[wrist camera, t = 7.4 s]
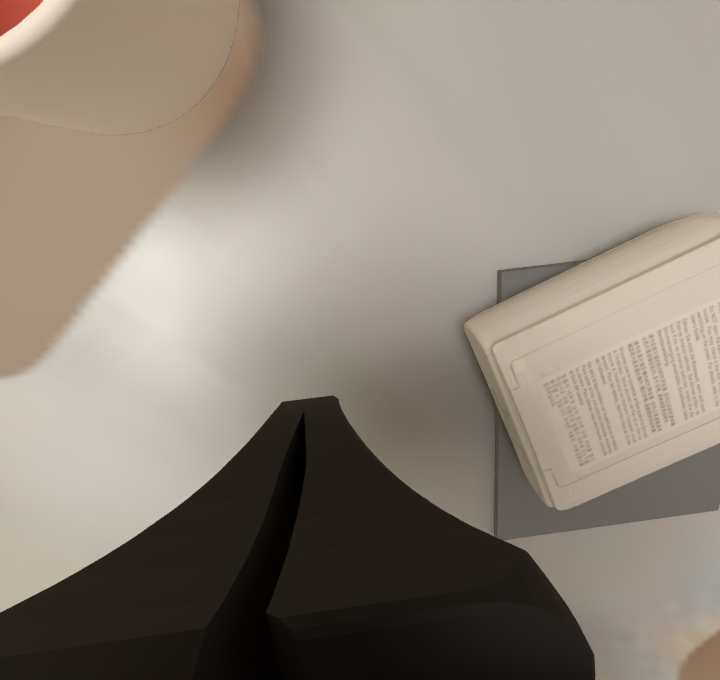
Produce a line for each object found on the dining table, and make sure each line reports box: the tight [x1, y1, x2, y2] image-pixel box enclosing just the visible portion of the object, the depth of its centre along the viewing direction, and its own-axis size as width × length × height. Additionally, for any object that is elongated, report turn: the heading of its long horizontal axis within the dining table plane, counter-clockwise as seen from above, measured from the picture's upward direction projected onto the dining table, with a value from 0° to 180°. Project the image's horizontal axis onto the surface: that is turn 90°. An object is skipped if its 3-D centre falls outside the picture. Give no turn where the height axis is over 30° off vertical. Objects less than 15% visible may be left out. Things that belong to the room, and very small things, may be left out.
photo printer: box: [464, 211, 720, 510], centre depth 19 cm, size 10×4×12 cm
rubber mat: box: [494, 260, 720, 540], centre depth 23 cm, size 16×14×1 cm
